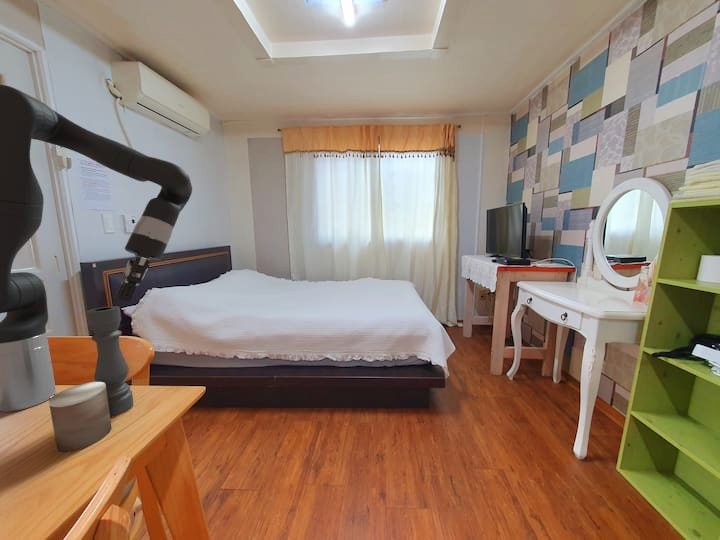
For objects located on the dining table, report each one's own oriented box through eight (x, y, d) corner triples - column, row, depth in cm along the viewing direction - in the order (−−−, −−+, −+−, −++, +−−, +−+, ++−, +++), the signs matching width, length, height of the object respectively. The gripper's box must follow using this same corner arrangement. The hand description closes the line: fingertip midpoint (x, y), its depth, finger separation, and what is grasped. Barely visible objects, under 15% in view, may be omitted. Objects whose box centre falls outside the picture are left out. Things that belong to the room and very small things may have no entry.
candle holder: (140, 403, 67) (127, 306, 64) (111, 420, 61) (96, 313, 58) (122, 400, 69) (109, 305, 66) (92, 415, 63) (77, 312, 60)
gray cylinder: (62, 435, 57) (54, 391, 56) (113, 419, 62) (107, 377, 61) (52, 459, 51) (43, 409, 49) (109, 438, 56) (103, 393, 54)
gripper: (129, 235, 71) (101, 295, 67) (135, 227, 61) (102, 296, 57) (162, 247, 76) (137, 302, 72) (173, 240, 66) (144, 305, 61)
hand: (122, 300), depth 64 cm, fingers open, 8 cm apart
